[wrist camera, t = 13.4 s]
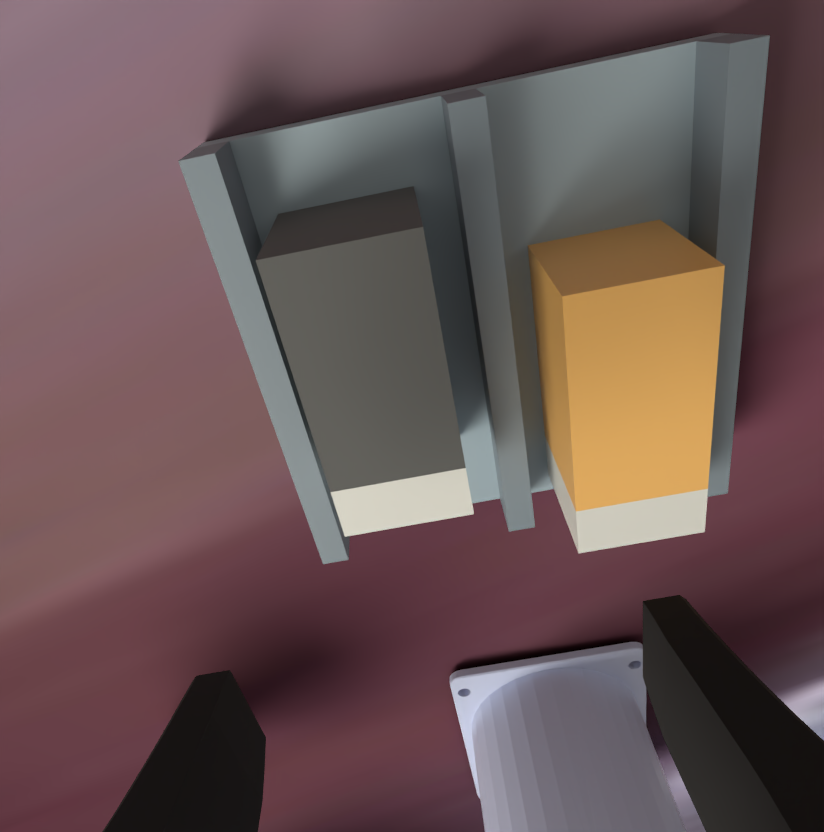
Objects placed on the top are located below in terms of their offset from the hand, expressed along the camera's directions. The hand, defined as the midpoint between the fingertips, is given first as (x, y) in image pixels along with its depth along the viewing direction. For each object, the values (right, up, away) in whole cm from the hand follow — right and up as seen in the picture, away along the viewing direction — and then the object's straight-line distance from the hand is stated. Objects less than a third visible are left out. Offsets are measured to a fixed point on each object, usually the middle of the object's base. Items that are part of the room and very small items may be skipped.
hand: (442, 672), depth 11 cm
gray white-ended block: (-2, +7, +7) cm, 9 cm away
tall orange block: (+5, +6, +7) cm, 11 cm away
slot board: (+2, +7, +7) cm, 10 cm away
